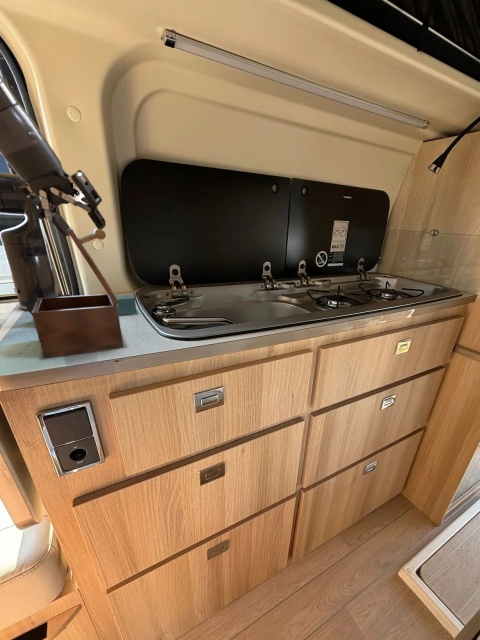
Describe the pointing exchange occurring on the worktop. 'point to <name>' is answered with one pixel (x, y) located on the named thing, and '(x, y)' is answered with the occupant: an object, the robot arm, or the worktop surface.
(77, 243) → the lid
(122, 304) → the block
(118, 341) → the chest
